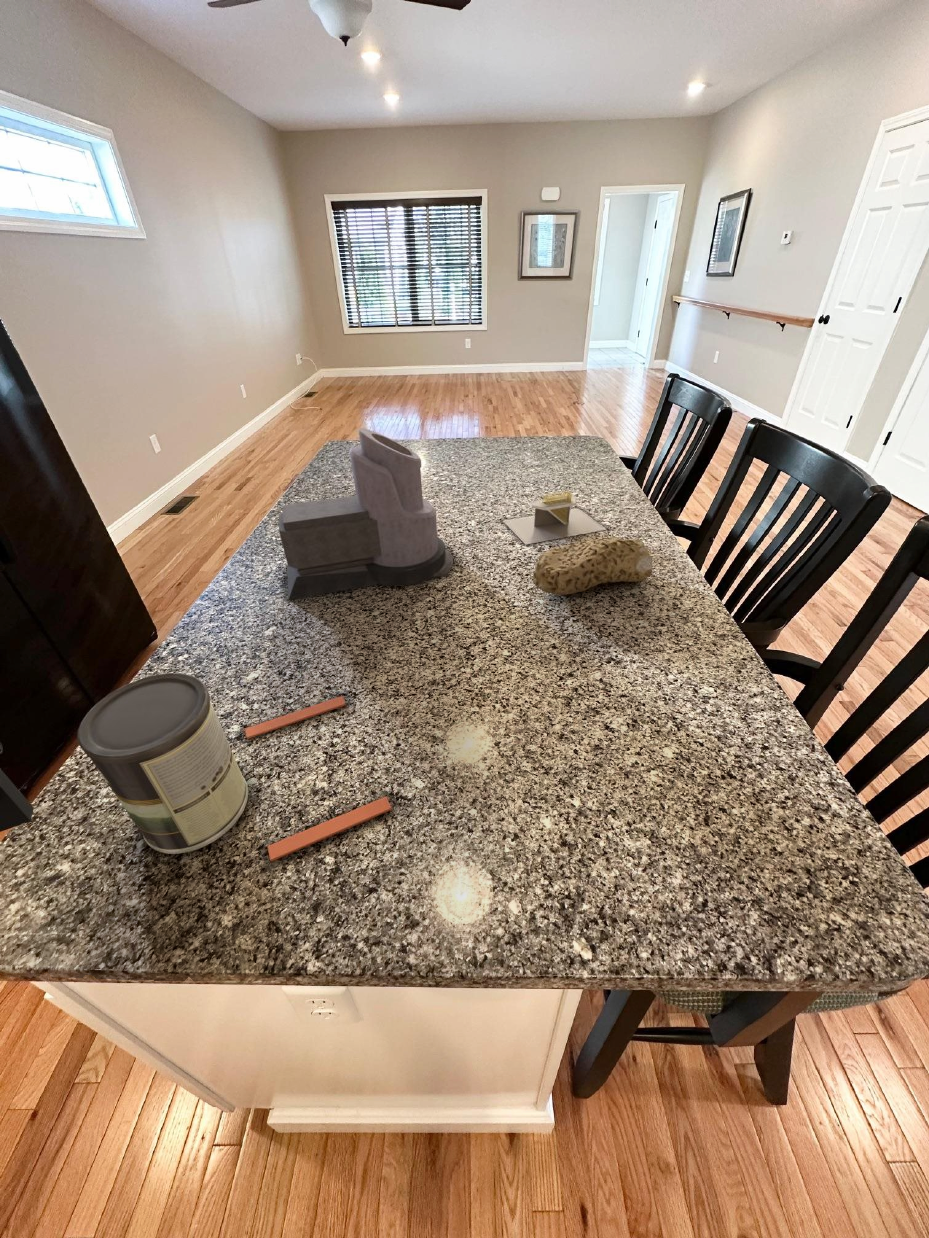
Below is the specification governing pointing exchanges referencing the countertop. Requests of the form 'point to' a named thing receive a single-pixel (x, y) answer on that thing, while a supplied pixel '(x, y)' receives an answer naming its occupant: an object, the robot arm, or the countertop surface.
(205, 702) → the coffee can
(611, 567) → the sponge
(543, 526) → the platform
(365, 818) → the strips
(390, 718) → the countertop surface
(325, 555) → the machine
